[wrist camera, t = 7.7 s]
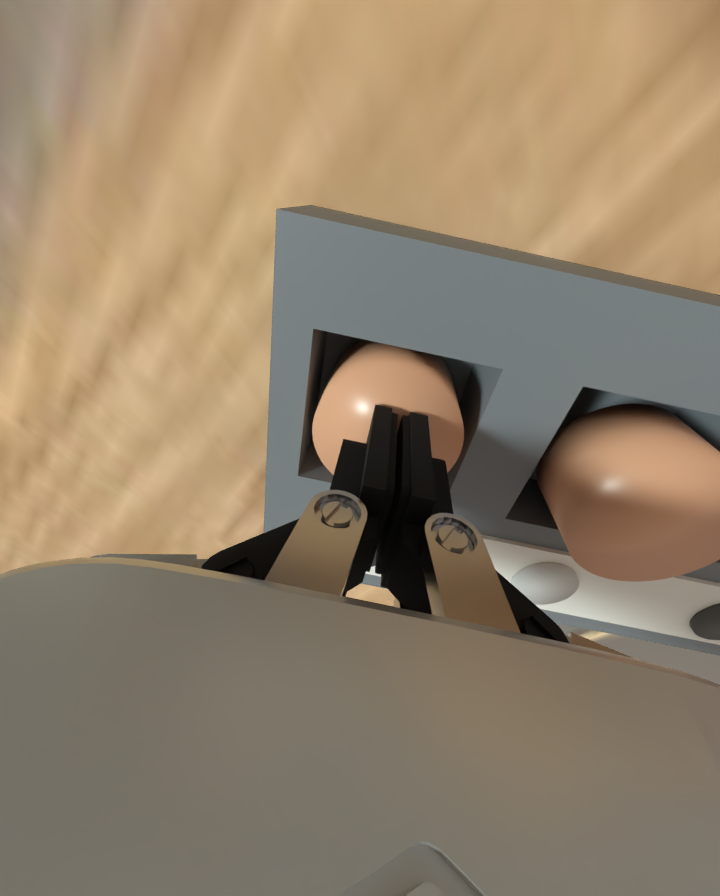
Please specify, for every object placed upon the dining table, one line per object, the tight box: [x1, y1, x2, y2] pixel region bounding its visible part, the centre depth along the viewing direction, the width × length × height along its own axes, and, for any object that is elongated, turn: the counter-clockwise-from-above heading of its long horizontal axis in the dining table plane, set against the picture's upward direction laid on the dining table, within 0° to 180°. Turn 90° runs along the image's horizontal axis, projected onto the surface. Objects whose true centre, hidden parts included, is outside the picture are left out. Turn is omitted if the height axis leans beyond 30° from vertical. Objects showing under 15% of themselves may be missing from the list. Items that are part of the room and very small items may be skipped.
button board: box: [264, 205, 720, 655], centre depth 15 cm, size 14×24×4 cm, turn 80°
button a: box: [312, 340, 464, 475], centre depth 13 cm, size 5×5×3 cm
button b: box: [536, 403, 720, 582], centre depth 12 cm, size 5×5×3 cm
